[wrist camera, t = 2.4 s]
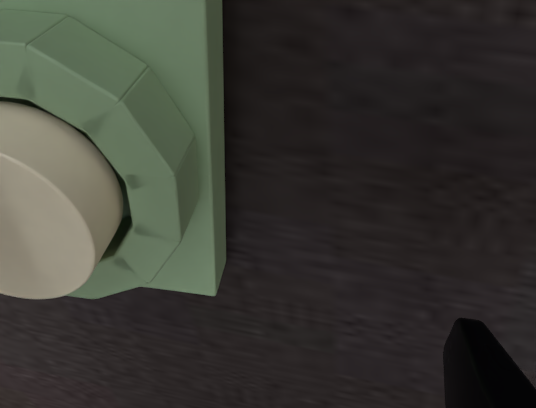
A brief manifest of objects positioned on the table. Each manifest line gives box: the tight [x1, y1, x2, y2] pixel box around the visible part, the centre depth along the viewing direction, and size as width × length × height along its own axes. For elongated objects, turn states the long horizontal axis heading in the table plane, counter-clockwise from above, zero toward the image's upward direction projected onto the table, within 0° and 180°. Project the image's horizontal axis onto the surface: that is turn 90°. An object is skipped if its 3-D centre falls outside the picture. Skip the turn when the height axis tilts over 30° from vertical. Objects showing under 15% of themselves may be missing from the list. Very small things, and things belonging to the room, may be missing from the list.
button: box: [0, 101, 123, 299], centre depth 11 cm, size 4×4×2 cm
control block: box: [0, 0, 226, 299], centre depth 13 cm, size 10×8×4 cm
